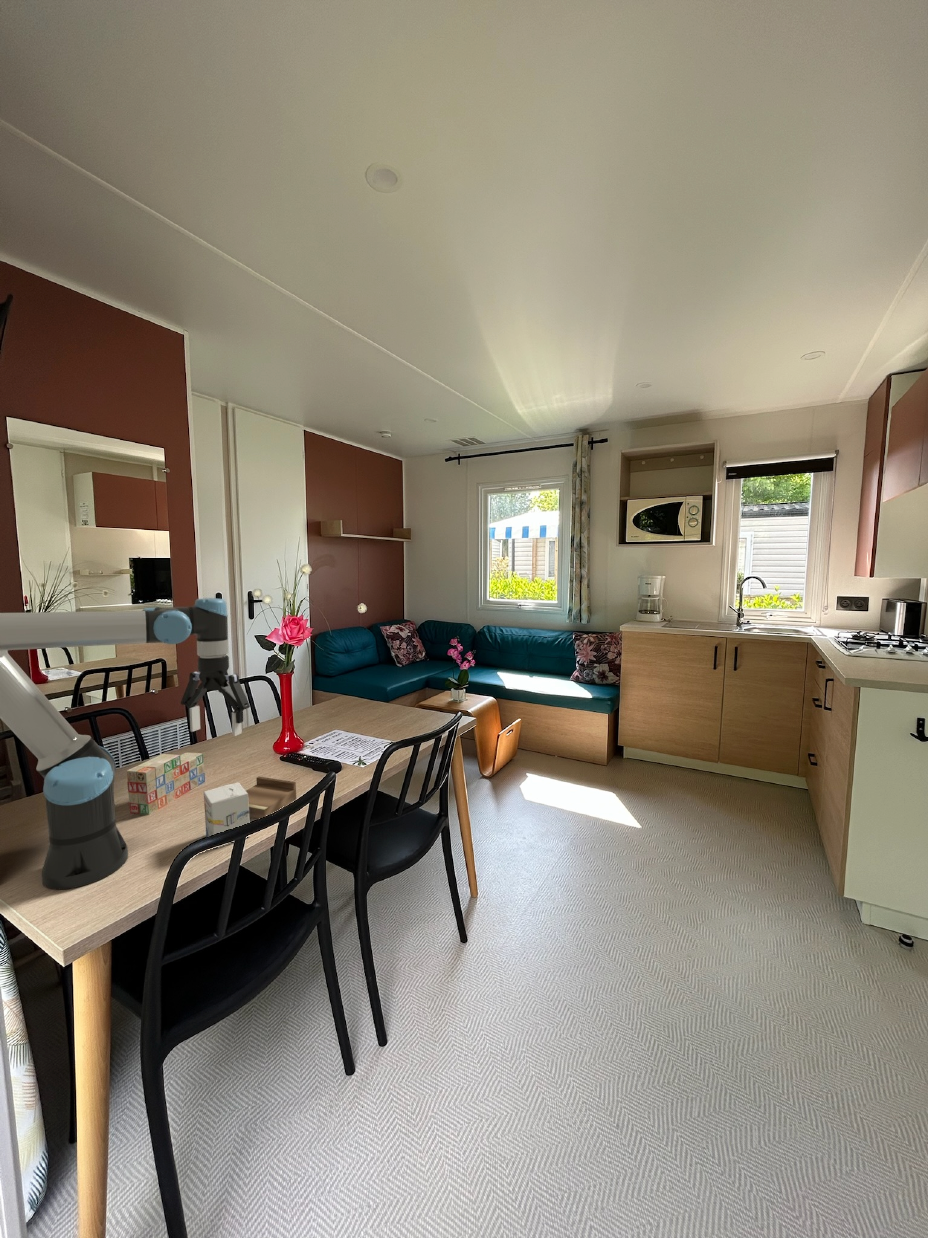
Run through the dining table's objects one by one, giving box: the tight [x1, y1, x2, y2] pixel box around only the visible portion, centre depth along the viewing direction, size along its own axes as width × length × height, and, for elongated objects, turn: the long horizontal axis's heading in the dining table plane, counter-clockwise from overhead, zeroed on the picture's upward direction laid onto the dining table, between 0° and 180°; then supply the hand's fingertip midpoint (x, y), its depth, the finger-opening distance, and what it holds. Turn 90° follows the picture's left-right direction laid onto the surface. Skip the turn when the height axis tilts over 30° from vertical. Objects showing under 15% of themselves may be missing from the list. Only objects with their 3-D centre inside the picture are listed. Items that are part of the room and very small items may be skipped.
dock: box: [245, 776, 297, 820], centre depth 136 cm, size 13×13×5 cm
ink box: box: [203, 781, 251, 849], centre depth 120 cm, size 9×8×12 cm
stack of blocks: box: [126, 751, 206, 816], centre depth 142 cm, size 21×6×12 cm, turn 168°
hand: (216, 732), depth 133 cm, fingers open, 13 cm apart
